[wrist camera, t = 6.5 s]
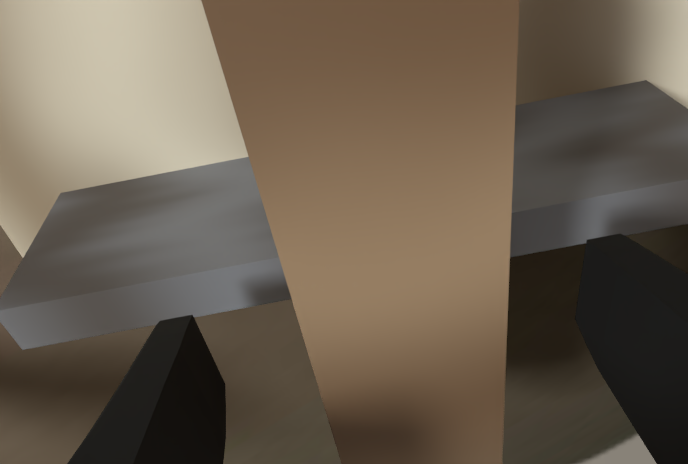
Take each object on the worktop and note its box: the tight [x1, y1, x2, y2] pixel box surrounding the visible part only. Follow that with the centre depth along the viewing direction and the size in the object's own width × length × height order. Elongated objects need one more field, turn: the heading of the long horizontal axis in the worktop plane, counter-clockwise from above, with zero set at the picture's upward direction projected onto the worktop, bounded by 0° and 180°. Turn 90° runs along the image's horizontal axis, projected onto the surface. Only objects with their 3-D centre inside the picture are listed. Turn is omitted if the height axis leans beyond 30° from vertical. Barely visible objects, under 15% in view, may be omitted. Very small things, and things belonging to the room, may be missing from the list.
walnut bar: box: [201, 0, 520, 464], centre depth 10 cm, size 16×3×4 cm, turn 9°
